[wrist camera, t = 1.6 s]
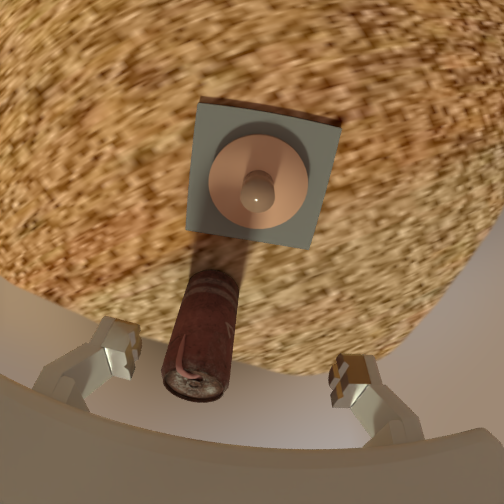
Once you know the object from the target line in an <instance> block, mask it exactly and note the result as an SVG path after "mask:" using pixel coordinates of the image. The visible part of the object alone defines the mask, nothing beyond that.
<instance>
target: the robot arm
mask: <svg viewBox="0 0 504 504" xmlns="http://www.w3.org/2000/svg"><path fill="white" fill-rule="evenodd" d="M140 331H141V330H140V325H139V324H136V323H132V322H128V321H124V320H120V319H117V318H112V317H108V316H104V317H103V318H102V320H101V322H100V323H99V325H98V327H97V329H96V331H95V333H94V335H93V336H92V338H91V340H90V342H89V343H84V344H82V345H81V346H79V347H77V348H76V349H74V350H72V351H70V352H69V353H67V354H65V355H64V356H62V357H60V358H58V359H57V360H55V361H53V362H51V363H50V364H48V365H46V366H44V367H43V369H42V371H41V373H40V375H39V377H38V378H37V380H36V382H35V384H34V386H33V388H32V389H30V388H28V387H26V386H23V385H21V384H19V383H17V382H15V381H13V380H11V379H9V378H7V377H6V376H3V375H2V374H0V504H504V448H503V446H502V444H501V442H500V441H499V440H498V439H497V438H495V437H494V436H493V435H492V434H491V433H490V432H489V431H488V430H486V429H485V428H476V429H472V430H468V431H464V432H460V433H456V434H452V435H447V436H442V437H438V438H432V439H427V440H425V438H424V435H423V431H422V428H421V424H420V420H419V417H418V416H417V415H416V414H415V413H414V412H413V411H412V410H411V409H410V408H409V407H408V406H407V405H406V404H405V403H404V402H403V401H402V400H401V399H400V398H399V397H397V395H395V394H394V393H393V392H392V391H391V390H390V389H389V388H388V387H387V386H386V385H383V384H382V380H381V377H380V374H379V371H378V367H377V364H376V360H375V357H374V356H373V355H361V354H344V353H340V354H339V355H338V357H337V358H336V361H337V363H336V364H334V365H332V367H331V369H330V372H329V379H328V381H329V386H330V388H331V389H332V390H333V391H332V393H331V402H332V407H333V408H334V407H335V408H350V409H351V411H352V412H353V414H354V415H355V416H356V418H357V419H358V420H359V421H360V423H361V424H362V426H363V427H364V428H365V430H366V431H367V432H368V434H369V435H370V436H371V438H372V439H371V440H370V441H368V442H367V443H366V444H365V445H364V446H363V448H348V449H316V450H315V449H314V450H313V449H312V450H311V449H277V448H262V447H250V446H239V445H231V444H222V443H215V442H208V441H202V440H196V439H190V438H185V437H179V436H175V435H170V434H165V433H160V432H156V431H152V430H148V429H144V428H139V427H135V426H132V425H128V424H125V423H121V422H118V421H114V420H111V419H108V418H104V417H101V416H99V415H95V414H92V413H90V411H89V409H88V407H87V405H86V403H85V401H84V399H85V398H86V397H87V396H89V395H90V394H91V393H92V392H94V391H95V390H96V389H97V388H99V387H100V386H101V385H102V384H103V383H105V382H106V381H107V380H108V379H110V378H111V377H112V376H116V377H120V378H124V379H128V380H131V378H132V376H133V373H134V370H135V363H134V362H135V361H136V360H138V359H139V356H140V353H141V348H142V339H141V337H140V336H139V333H140Z"/></svg>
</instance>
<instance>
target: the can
mask: <svg viewBox="0 0 504 504" xmlns="http://www.w3.org/2000/svg"><path fill="white" fill-rule="evenodd" d="M238 298H239V290H238V286H237V285H236V283H235V282H234V280H233V279H232V278H231V277H229V276H228V275H227V274H225V273H223V272H220V271H216V270H205V271H202V272H199V273H197V274H195V275H194V276H193V277H192V278H191V279H190V281H189V283H188V285H187V288H186V291H185V294H184V297H183V300H182V303H181V306H180V310H179V313H178V316H177V319H176V322H175V326H174V329H173V332H172V335H171V339H170V342H169V345H168V349H167V352H166V355H165V359H164V362H163V366H162V369H161V373H162V378H163V384H164V386H165V387H166V389H167V390H168V391H170V392H171V393H172V394H173V395H175V396H177V397H179V398H181V399H184V400H187V401H192V402H198V403H202V402H203V403H207V402H212V401H216V400H218V399H220V398H221V397H222V396H223V394H224V392H225V391H226V389H227V388H228V386H229V379H230V369H231V361H232V352H233V343H234V334H235V324H236V315H237V307H238Z"/></svg>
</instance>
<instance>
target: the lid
mask: <svg viewBox="0 0 504 504" xmlns="http://www.w3.org/2000/svg"><path fill="white" fill-rule="evenodd" d="M208 184H209V191H210V195H211V198H212V201H213V202H214V204H215V206H216V207H217V209H218V210H219V211H220V212H221V214H222V215H223V216H225V217H226V218H227V219H228V220H230V221H232V222H233V223H235V224H237V225H240V226H243V227H246V228H252V229H265V228H271V227H275V226H277V225H280V224H282V223H284V222H286V221H287V220H289V219H290V218H291V217H292V216H294V215H295V214H296V213H297V211H298V210H299V209H300V207H301V206H302V204H303V202H304V200H305V198H306V195H307V190H308V176H307V171H306V168H305V166H304V163H303V161H302V159H301V157H300V156H299V154H298V153H297V152H296V150H295V149H294V148H293V147H292V146H291V145H289V144H288V143H287V142H285V141H283V140H282V139H280V138H277V137H275V136H271V135H267V134H249V135H245V136H242V137H239V138H237V139H235V140H233V141H231V142H230V143H228V144H227V145H226V146H225V147H224V148H223V149H222V150H221V151H220V152H219V154H218V155H217V157H216V158H215V160H214V162H213V164H212V166H211V169H210V173H209V183H208Z"/></svg>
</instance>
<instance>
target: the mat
mask: <svg viewBox="0 0 504 504" xmlns="http://www.w3.org/2000/svg"><path fill="white" fill-rule="evenodd" d="M341 130H342V128H340V127H336V126H332V125H328V124H323V123H319V122H315V121H311V120H306V119H301V118H297V117H292V116H287V115H282V114H276V113H271V112H265V111H259V110H253V109H247V108H240V107H233V106H225V105H217V104H208V103H198V105H197V113H196V121H195V129H194V138H193V147H192V157H191V167H190V178H189V189H188V202H187V215H186V230H188V231H195V232H201V233H207V234H214V235H220V236H226V237H233V238H239V239H245V240H251V241H258V242H264V243H270V244H276V245H282V246H288V247H294V248H300V249H306V250H309V248H310V244H311V241H312V238H313V234H314V231H315V227H316V224H317V220H318V217H319V214H320V210H321V206H322V203H323V199H324V196H325V192H326V188H327V185H328V181H329V177H330V174H331V170H332V166H333V162H334V158H335V154H336V150H337V146H338V142H339V138H340V134H341ZM249 134H267V135H271V136H275V137H277V138H280V139H282V140H283V141H285V142H287V143H288V144H289V145H291V146H292V147H293V148H294V149H295V150H296V152H297V153H298V154H299V156H300V157H301V159H302V161H303V163H304V166H305V168H306V171H307V176H308V190H307V195H306V198H305V200H304V202H303V204H302V206H301V207H300V209H299V210H298V211H297V213H296V214H295V215H294V216H292V217H291V218H290V219H289V220H287V221H286V222H284V223H282V224H280V225H277V226H275V227H271V228H265V229H252V228H246V227H243V226H240V225H237V224H235V223H233V222H232V221H230V220H228V219H227V218H226V217H225V216H223V215H222V214H221V212H220V211H219V210H218V209H217V207H216V206H215V204H214V202H213V201H212V198H211V195H210V191H209V184H208V183H209V173H210V169H211V166H212V164H213V162H214V160H215V158H216V157H217V155H218V154H219V152H220V151H221V150H222V149H223V148H224V147H225V146H226V145H227V144H228V143H230V142H231V141H233V140H235V139H237V138H239V137H242V136H245V135H249Z"/></svg>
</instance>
